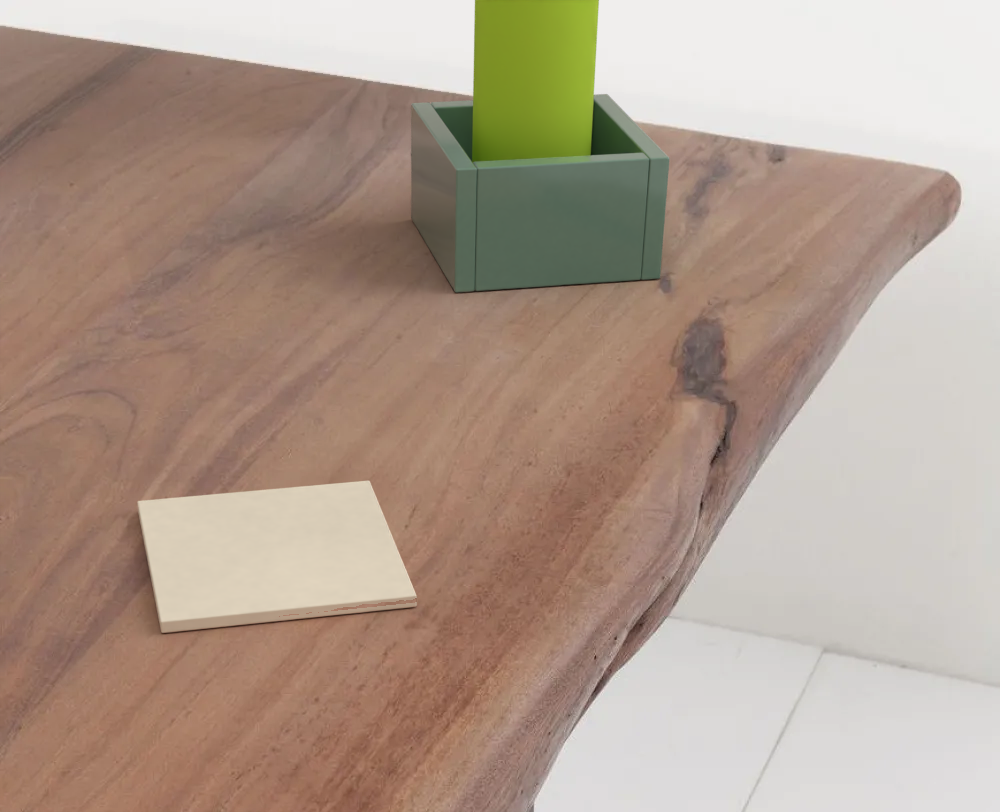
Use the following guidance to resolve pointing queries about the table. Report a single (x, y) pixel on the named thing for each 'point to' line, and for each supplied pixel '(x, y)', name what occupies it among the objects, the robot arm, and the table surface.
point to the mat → (270, 556)
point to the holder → (538, 204)
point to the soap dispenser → (533, 78)
